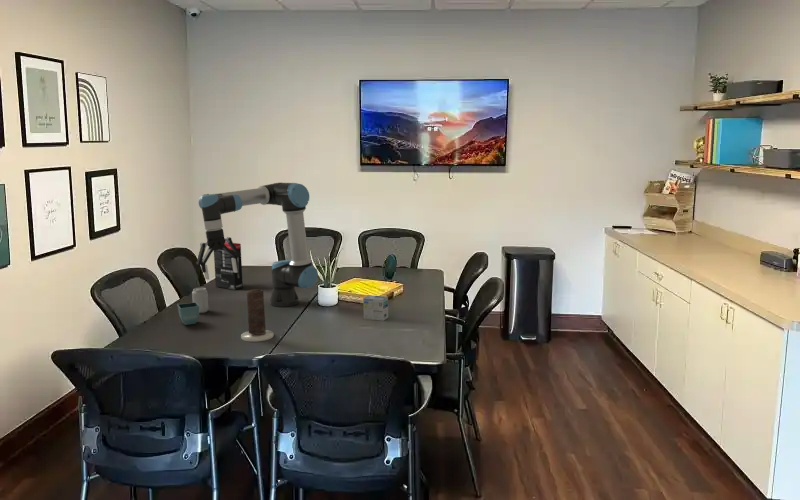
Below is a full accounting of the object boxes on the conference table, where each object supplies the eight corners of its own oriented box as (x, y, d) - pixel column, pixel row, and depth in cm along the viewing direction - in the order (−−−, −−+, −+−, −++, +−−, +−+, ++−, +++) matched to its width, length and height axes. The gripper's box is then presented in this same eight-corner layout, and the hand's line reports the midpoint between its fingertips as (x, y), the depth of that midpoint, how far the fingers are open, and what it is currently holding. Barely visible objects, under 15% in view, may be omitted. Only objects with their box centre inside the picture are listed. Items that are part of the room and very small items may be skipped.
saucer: (266, 330, 297) (266, 328, 297) (278, 338, 286) (278, 335, 285) (236, 335, 290) (236, 333, 290) (247, 343, 278) (247, 340, 278)
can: (204, 313, 327) (202, 290, 325) (190, 313, 329) (189, 289, 327) (211, 310, 334) (210, 287, 332) (197, 309, 336) (196, 286, 334)
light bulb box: (388, 317, 318) (388, 296, 316) (383, 321, 312) (383, 299, 310) (368, 315, 322) (367, 294, 320) (363, 319, 315) (362, 297, 314)
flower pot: (181, 327, 304) (180, 308, 303) (178, 322, 312) (176, 304, 310) (200, 324, 308) (199, 306, 307) (197, 320, 316) (196, 302, 314)
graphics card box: (243, 288, 384) (241, 242, 380) (235, 290, 378) (232, 244, 374) (223, 285, 393) (221, 240, 389) (214, 287, 387) (212, 241, 383)
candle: (257, 337, 282) (255, 292, 279) (244, 335, 286) (242, 290, 283) (269, 333, 289) (267, 289, 285) (257, 331, 292) (255, 287, 289)
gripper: (236, 223, 300) (243, 268, 305) (183, 234, 285) (191, 281, 289) (243, 224, 295) (250, 270, 299) (190, 235, 279) (198, 283, 284)
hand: (221, 275), depth 294 cm, fingers open, 13 cm apart
